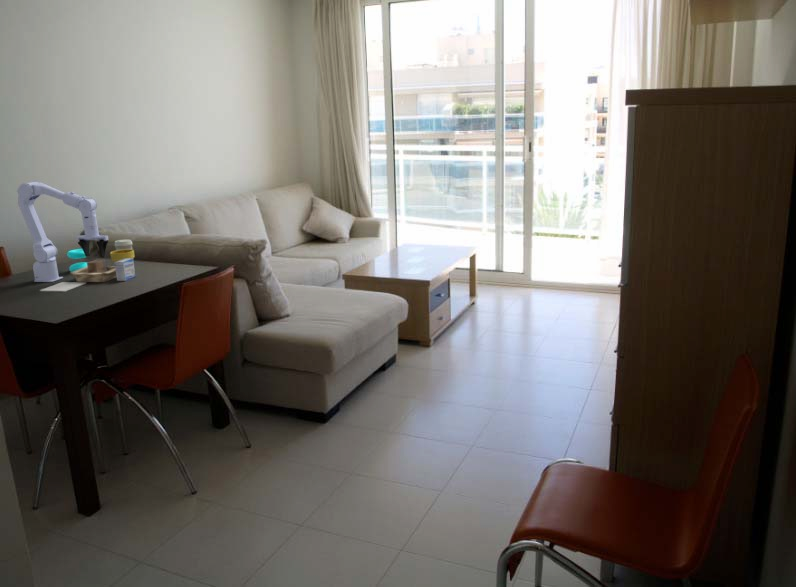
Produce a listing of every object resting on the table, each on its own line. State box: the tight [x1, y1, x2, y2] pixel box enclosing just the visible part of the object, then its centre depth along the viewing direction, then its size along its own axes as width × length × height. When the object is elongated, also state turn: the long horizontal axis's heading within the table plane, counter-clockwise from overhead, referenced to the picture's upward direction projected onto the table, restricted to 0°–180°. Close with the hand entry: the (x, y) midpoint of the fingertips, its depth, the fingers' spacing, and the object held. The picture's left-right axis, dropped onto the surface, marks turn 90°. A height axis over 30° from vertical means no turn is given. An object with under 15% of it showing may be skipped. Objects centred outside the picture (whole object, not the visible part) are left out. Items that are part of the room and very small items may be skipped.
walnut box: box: [86, 258, 107, 273], centre depth 307 cm, size 4×7×8 cm, turn 168°
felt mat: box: [39, 281, 87, 293], centre depth 294 cm, size 12×14×1 cm
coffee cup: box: [114, 238, 133, 251], centre depth 335 cm, size 8×8×12 cm
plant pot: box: [109, 248, 135, 265], centre depth 320 cm, size 10×10×10 cm
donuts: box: [66, 248, 88, 272], centre depth 325 cm, size 10×10×10 cm
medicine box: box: [114, 258, 136, 282], centre depth 304 cm, size 8×4×9 cm, turn 168°
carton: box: [69, 264, 117, 283], centre depth 308 cm, size 19×17×4 cm
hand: (95, 256), depth 306 cm, fingers open, 7 cm apart
